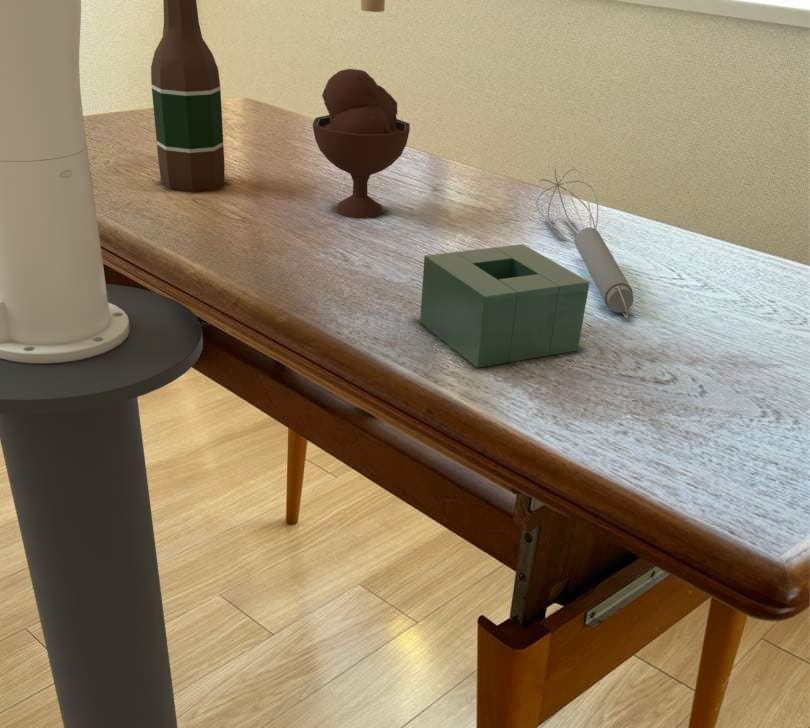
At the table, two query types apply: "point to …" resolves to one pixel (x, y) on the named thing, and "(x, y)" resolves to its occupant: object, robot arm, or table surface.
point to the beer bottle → (187, 103)
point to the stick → (373, 5)
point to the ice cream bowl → (359, 134)
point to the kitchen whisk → (596, 256)
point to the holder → (502, 304)
